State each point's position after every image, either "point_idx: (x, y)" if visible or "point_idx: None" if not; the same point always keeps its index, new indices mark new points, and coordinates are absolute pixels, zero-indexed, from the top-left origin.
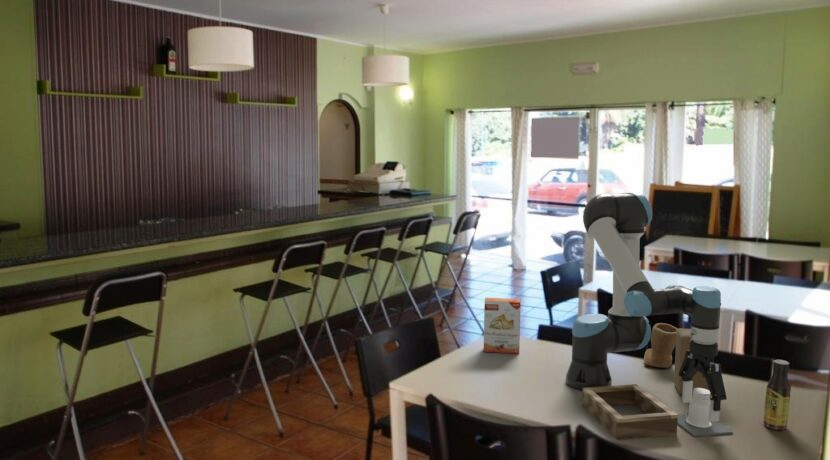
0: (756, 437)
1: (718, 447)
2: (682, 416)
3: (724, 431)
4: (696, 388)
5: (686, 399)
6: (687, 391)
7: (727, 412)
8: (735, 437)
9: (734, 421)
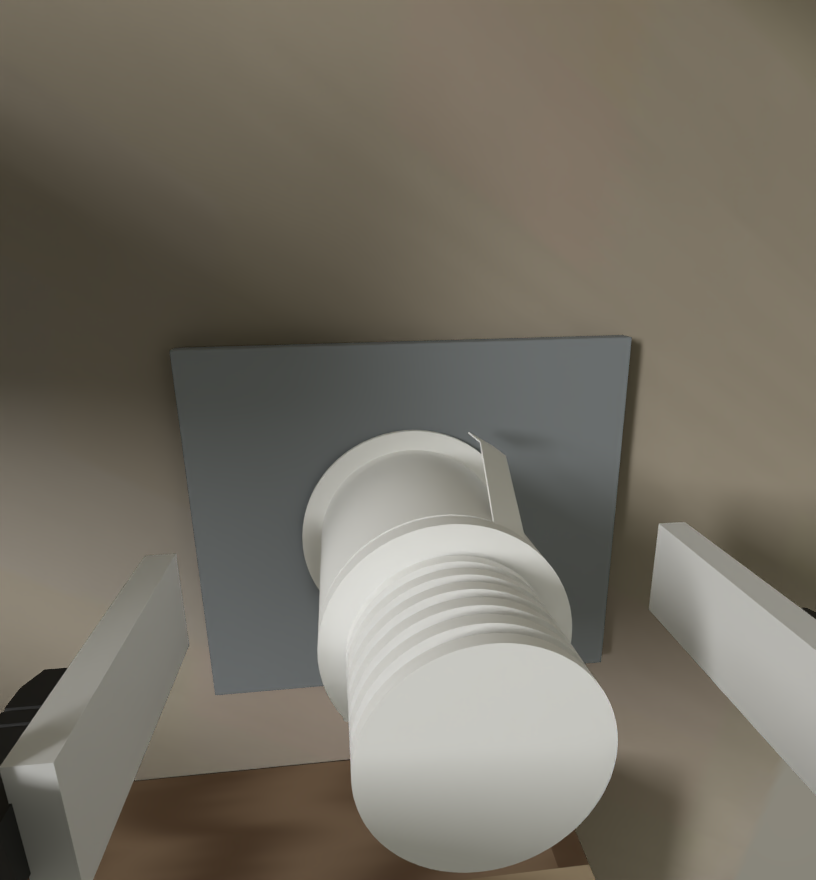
0: (739, 161)
1: (777, 569)
2: (260, 596)
3: (607, 405)
4: (377, 805)
5: (174, 638)
6: (138, 704)
7: (142, 49)
8: (685, 352)
9: (385, 135)
